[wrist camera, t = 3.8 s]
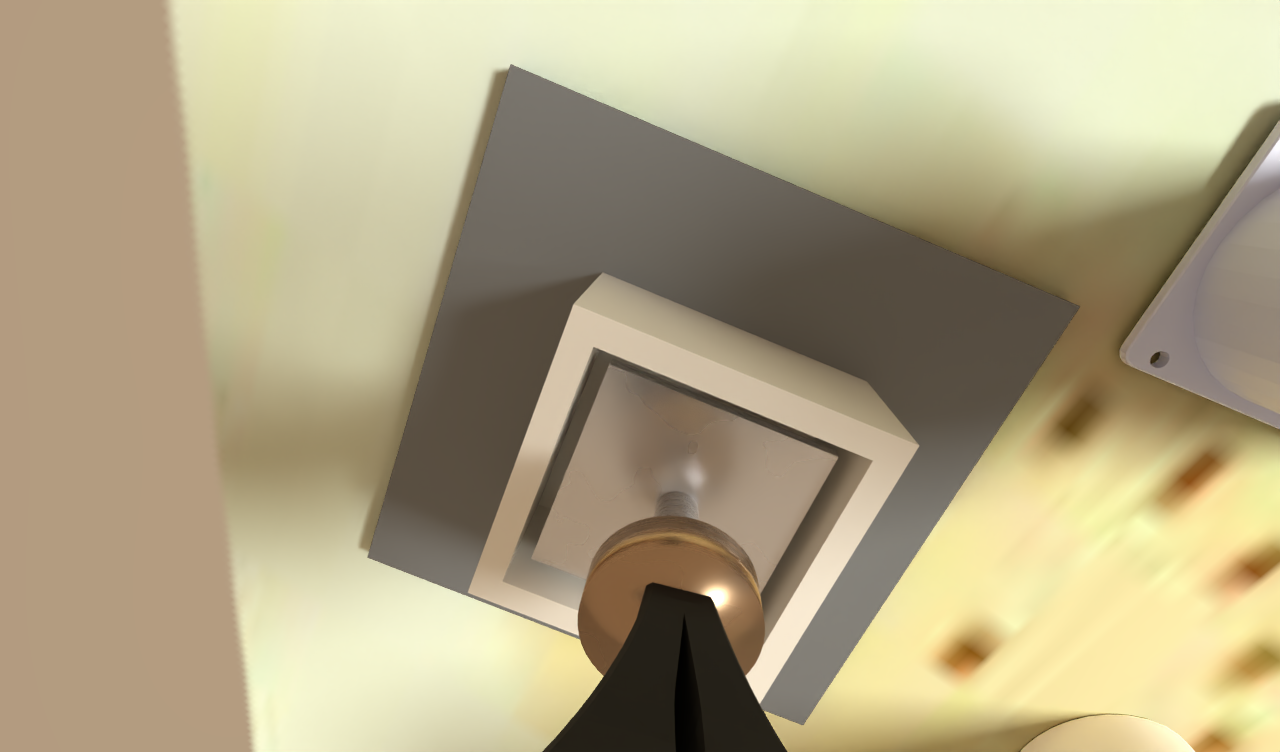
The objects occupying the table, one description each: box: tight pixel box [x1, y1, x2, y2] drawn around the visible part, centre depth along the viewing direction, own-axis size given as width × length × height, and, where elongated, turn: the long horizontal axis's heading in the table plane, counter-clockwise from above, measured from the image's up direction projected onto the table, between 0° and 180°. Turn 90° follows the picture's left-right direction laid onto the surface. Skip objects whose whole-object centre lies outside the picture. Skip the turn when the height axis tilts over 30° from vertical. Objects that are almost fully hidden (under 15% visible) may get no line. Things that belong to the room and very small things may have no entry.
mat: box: [368, 65, 1080, 725], centre depth 21 cm, size 18×18×1 cm
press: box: [468, 273, 919, 704], centre depth 18 cm, size 9×9×5 cm
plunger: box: [531, 359, 838, 676], centre depth 15 cm, size 6×6×5 cm
